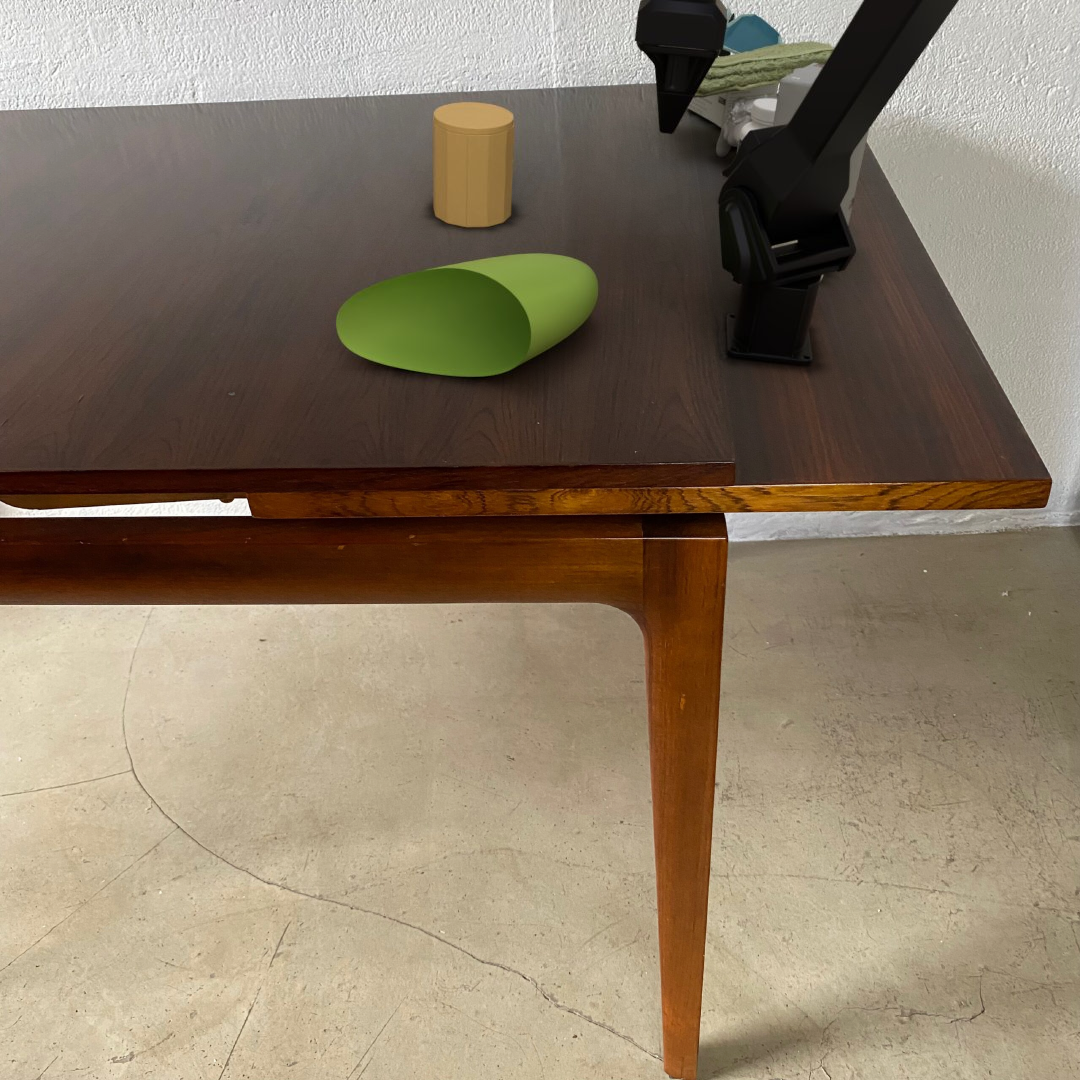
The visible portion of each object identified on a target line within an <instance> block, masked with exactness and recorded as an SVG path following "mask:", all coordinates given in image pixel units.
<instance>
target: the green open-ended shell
mask: <svg viewBox="0 0 1080 1080" xmlns="http://www.w3.org/2000/svg"><path fill="white" fill-rule="evenodd" d="M598 297H599V282H598V278H597V276H596V273H595V272H594V270H593V269H592V267H590V266H589V265H588V264H587V263H585V262H583V261H582V260H579V259H577V258H574V257H570V256H566V255H561V254H553V253H540V252H539V253H537V252H535V253H534V252H533V253H518V254H508V255H500V256H494V257H493V256H492V257H486V258H481V259H474V260H469V261H463V262H459V263H453V264H448V265H443V266H438V267H433V268H428V269H424V270H419V271H414V272H410V273H409V272H408V273H404V274H401V275H397V276H394V277H391V278H388V279H385V280H382V281H380V282H377V283H373V284H372V285H369V286H367V287H365V288H363V289H361V290H360V291H357V292H356V293H354V294H353V295H352V296H350V297H349V298H347V300H346V301H345V302H344V303H343V304H342V305H341V306H340V308H339V310H338V311H337V315H336V320H335V325H336V328H335V329H336V332H337V335H338V339H339V340H340V341H341V343H342V344H343V345H344V347H346V348H347V349H348V350H349V351H351V352H352V353H354V354H356V355H358V356H360V357H361V358H364V359H367V360H369V361H372V362H375V363H378V364H381V365H385V366H389V367H392V368H398V369H403V370H406V371H407V370H408V371H414V372H420V373H425V374H433V375H441V376H451V377H464V378H465V377H466V378H467V377H468V378H473V377H475V378H476V377H489V376H495V375H500V374H503V373H506V372H509V371H511V370H513V369H515V368H517V367H519V366H520V365H522V364H524V363H526V362H528V361H530V360H532V359H533V358H535V357H538V355H540V354H542V353H544V352H546V351H547V350H550V349H551V348H552V347H554V346H556V345H558V344H559V343H561V342H562V341H564V340H565V339H567V338H568V337H569V336H571V335H572V334H573V333H574V332H576V330H578V329H579V328H580V327H582V325H583V324H584V323H585V322H586V321H587V320H588V318H589V317H590V316H591V314H592V312H593V311H594V309H595V307H596V305H597V301H598Z"/></svg>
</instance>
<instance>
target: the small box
mask: <svg viewBox="0 0 1080 1080" xmlns="http://www.w3.org/2000/svg"><path fill="white" fill-rule="evenodd" d="M779 85H780V83H775V84H772V85H763V86H760V87H755V88H749V89H747V90H745V91H731V92H728V93H723V94H719V95H712V96H707V97H703V98H700V97H697V98H693V99H692V101H691V103H690V104H689V106H688V108H687V110H690V111H692V112H694V113H696V114H698V115H699V116H701V117H702V118H704V119H706V120H708V121H710V122H712V123H713V124H715V125H716V126H718V127H719V128H722V126H723V125H724V124H725V123H726V122H727V120H728V117H729V116H731V115H730V113H729V112H730V111H731V112H732V110H733V108H732V105H733V102H734V101H735V100H737V99H738V98H742V97H745V98H746V99H747V100H748V101H749V100H753V99H757V98H758V96H761V97H763V96H764V95H767V96H768V97H773V96H778V91H779Z"/></svg>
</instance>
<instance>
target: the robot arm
mask: <svg viewBox="0 0 1080 1080" xmlns="http://www.w3.org/2000/svg"><path fill="white" fill-rule="evenodd" d="M958 2H960V0H862V1H861V3H860V5H859V7H858V8H857V10H856V12H855V13H854V15H853V16H852V18H851V19H850V22H849V23H848V25H847V26H846V28H845V30H844V31H843V33H842V35H841V36H840V38H839V39H838V41H837V42H836V45H835V46H834V47H835V48H834V49H833V51H832V53H831V54H830V56H829V58H828V59H827V61H826V62H825V64H824V66H823V67H822V69H821V71H820V72H819V74H818V75H817V77H816V79H815V80H814V82H813V84H812V85H811V87H810V89H809V90H808V92H807V93H806V95H805V97H804V98H803V100H802V102H801V103H800V105H799V107H798V108H797V110H796V111H795V113H794V115H793V116H792V118H791V120H790V121H789V122H788V123H787V124H784V125H778V126H772V127H767V128H761V129H755V130H750V131H749V132H748V133H747V135H746V136H745V137H744V138H743V140H742V141H741V144H740V146H739V149H738V148H737V149H738V152H737V151H736V154H735V156H734V158H733V160H732V161H731V163H730V164H729V165H728V166H726V168H724V169H723V170H722V171H721V175H722V177H725V178H726V179H725V180H724V182H723V183H722V186H721V188H720V190H719V194H718V195H719V196H718V200H717V204H718V224H719V240H720V242H719V243H720V255H721V257H720V258H721V267H722V270H725V271H726V272H728V273H729V274H731V277H732V282H733V283H735V284H737V285H741V286H740V291H739V296H738V297H739V298H738V301H737V306H736V311H735V313H728V314H727V315H726V317H725V330H726V333H725V335H726V354H727V355H728V357H731V358H737V359H738V358H740V359H745V360H755V361H764V362H771V363H772V362H773V363H781V364H782V363H783V364H790V365H798V366H799V365H800V366H810V365H812V363H813V357H814V356H813V351H812V345H811V336H810V332H809V331H810V330H809V329H810V325H811V321H812V317H813V312H814V309H815V304H816V301H817V298H818V297H817V295H818V292H819V288H820V284H821V282H822V280H821V275H823V276H825V275H828V274H831V273H835V272H838V273H839V272H843V271H846V269H847V268H848V266H849V264H850V263H851V262H852V260H853V258H854V256H855V255H856V253H857V247H856V243H855V241H854V238H853V235H852V233H851V230H850V227H849V225H848V224H847V222H846V219H845V216H844V214H843V211H842V208H841V205H840V204H841V202H842V200H843V199H844V197H845V195H846V193H847V191H848V188H849V184H850V163H851V155H852V153H853V151H854V150H855V148H856V147H857V145H858V144H859V143H860V141H861V140H862V138H863V137H864V135H865V134H866V133H867V131H868V130H869V131H870V128H871V127H872V125H873V124H874V123H875V121H876V120H877V119H878V117H879V115H880V114H881V113H882V112H883V110H884V109H885V107H886V105H887V104H888V103H889V101H890V100H891V98H892V97H893V95H894V94H895V93H896V91H897V90H898V88H899V87H900V86H901V84H902V83H903V81H904V80H905V78H906V77H907V75H908V74H909V72H910V71H911V70H912V68H913V67H914V65H915V64H916V62H917V61H918V59H919V58H921V55H922V54H923V52H924V51H925V50H926V48H927V47H928V46H929V44H930V43H931V41H932V40H933V39H934V37H935V35H936V34H937V33H938V31H939V30H940V28H941V27H942V25H943V24H944V22H945V21H946V19H947V18H948V17H949V15H950V14H951V12H953V10H954V8H955V7H956V6H957V4H958ZM726 27H727V7H726V6H725V4H724V3H723V1H722V0H640V1H639V5H638V9H637V15H636V25H635V34H634V42H636V46H637V48H638V49H639V51H640V52H643V53H644V54H645V55H646V57H647V58H648V59H649V60H650V61H651V63H652V64H653V66H654V72H655V73H654V74H655V75H654V76H655V89H656V102H657V115H658V116H657V117H658V130H659V133H661V134H669V135H672V134H674V133H675V131H676V129H677V127H678V126H679V124H680V123H681V121H682V119H683V117H684V115H685V114H686V112H687V110H688V109H687V108H688V106H689V104H690V103H691V101H692V99H693V97H694V95H695V94H696V92H697V90H698V89H699V87H700V85H701V83H702V82H703V80H704V78H705V77H706V75H707V73H708V71H709V70H710V68H711V66H712V65H713V63H714V61H715V59H716V58H718V57H719V54H720V51H721V49H723V45H724V39H725V33H726ZM795 240H797V242H796V243H792V244H788V245H784V246H780V247H776V248H772V247H771V246H774V245H779V244H783V243H787V242H791V241H795ZM820 281H821V282H820Z"/></svg>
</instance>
